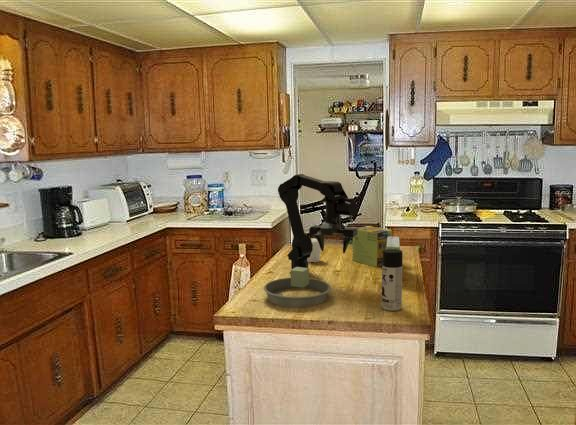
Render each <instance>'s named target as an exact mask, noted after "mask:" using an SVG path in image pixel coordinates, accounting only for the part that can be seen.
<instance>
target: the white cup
mask: <svg viewBox="0 0 576 425" xmlns="http://www.w3.org/2000/svg"><path fill="white" fill-rule="evenodd" d="M310 238H311V241H312V245H313V246H312V248H313V251H312V252H311V255H310V258H307V262H308V263H311V262H314V263H319V262H320V261H321V252H322V251H321V248H320V245H319V243H318V240H317V239H316V238H315V237H314V238H312V237H310Z"/></svg>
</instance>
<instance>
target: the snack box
mask: <svg viewBox="0 0 576 425" xmlns="http://www.w3.org/2000/svg"><path fill="white" fill-rule="evenodd" d="M400 244H401V243H400V237H399V236H392V237H387V247H386V249H398V250H401V245H400Z"/></svg>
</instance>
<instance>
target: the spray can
mask: <svg viewBox="0 0 576 425" xmlns="http://www.w3.org/2000/svg"><path fill="white" fill-rule="evenodd" d="M381 268H382V269H381V308H382V310H384V311H389V312H397V311H400V310H401V309H402V303H403V300H402V298H403V292H402V291H403V251H402V249H400V250H398V249H385V250H383V259H382V265H381Z"/></svg>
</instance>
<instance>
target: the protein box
mask: <svg viewBox="0 0 576 425" xmlns="http://www.w3.org/2000/svg"><path fill="white" fill-rule="evenodd" d="M355 228H356V229H357V231H358V235H356V236H354V237H353V238H352V261H353V262H358V263H361V264H365V265H368V266H373V267H382V259H383V250H385V249H386V247H387V237H393V230H392V229H388V228H383V227H377V226H371V225H366V226H361V227H355Z"/></svg>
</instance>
